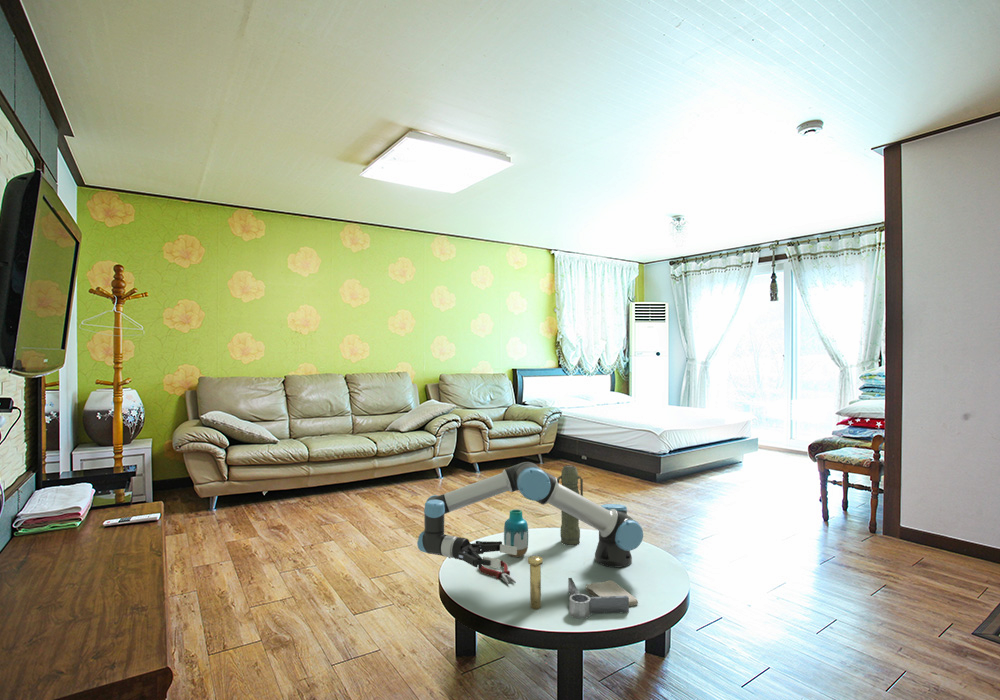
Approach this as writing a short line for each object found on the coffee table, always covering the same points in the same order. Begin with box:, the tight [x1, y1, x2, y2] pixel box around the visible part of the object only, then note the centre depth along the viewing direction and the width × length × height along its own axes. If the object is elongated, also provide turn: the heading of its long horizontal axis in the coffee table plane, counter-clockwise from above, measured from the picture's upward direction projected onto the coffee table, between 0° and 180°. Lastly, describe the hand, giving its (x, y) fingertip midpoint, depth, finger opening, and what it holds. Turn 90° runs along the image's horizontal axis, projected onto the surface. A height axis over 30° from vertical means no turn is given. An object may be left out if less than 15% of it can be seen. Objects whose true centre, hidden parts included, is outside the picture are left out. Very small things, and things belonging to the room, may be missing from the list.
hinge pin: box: [527, 555, 544, 610], centre depth 177 cm, size 5×5×16 cm
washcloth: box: [584, 579, 639, 607], centre depth 183 cm, size 12×18×3 cm, turn 21°
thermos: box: [557, 464, 584, 546], centre depth 239 cm, size 9×12×35 cm
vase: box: [503, 508, 529, 558], centre depth 223 cm, size 11×11×19 cm
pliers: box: [478, 560, 517, 585], centre depth 202 cm, size 12×20×3 cm, turn 26°
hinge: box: [567, 577, 630, 620], centre depth 178 cm, size 20×20×5 cm
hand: (508, 557), depth 181 cm, fingers open, 13 cm apart
